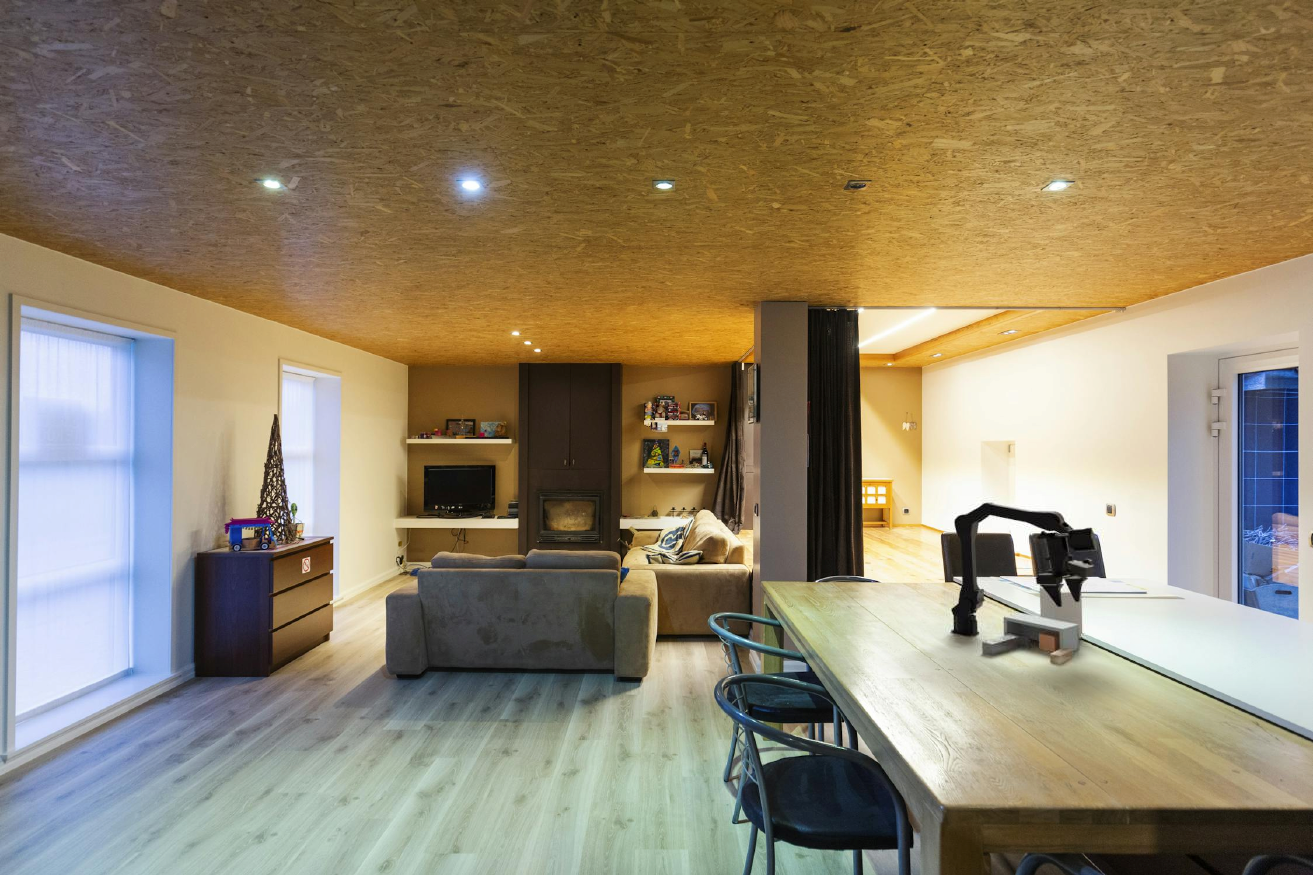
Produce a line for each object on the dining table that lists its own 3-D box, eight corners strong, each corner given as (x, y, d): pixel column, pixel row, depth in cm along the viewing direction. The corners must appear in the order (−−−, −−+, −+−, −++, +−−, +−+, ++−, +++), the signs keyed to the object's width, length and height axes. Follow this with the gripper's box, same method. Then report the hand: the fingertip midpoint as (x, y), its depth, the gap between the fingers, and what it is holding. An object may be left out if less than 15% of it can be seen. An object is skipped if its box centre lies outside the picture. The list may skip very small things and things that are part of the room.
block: (1039, 648, 202) (1038, 633, 202) (1046, 646, 205) (1046, 631, 205) (1054, 652, 198) (1054, 637, 199) (1062, 649, 201) (1061, 634, 201)
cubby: (1003, 640, 211) (1003, 616, 211) (1020, 635, 216) (1019, 612, 216) (1063, 654, 196) (1062, 628, 196) (1079, 649, 201) (1078, 624, 201)
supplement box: (1083, 638, 212) (1082, 592, 213) (1055, 638, 212) (1054, 592, 213) (1066, 631, 221) (1065, 586, 222) (1039, 631, 221) (1039, 586, 222)
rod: (1050, 662, 189) (1050, 653, 189) (1063, 655, 196) (1062, 647, 196) (1060, 664, 187) (1059, 656, 187) (1072, 657, 194) (1072, 649, 194)
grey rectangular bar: (998, 657, 193) (998, 645, 193) (976, 651, 199) (975, 640, 199) (1030, 648, 203) (1030, 636, 203) (1007, 642, 209) (1007, 631, 209)
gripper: (1066, 556, 190) (1078, 610, 188) (1102, 548, 199) (1113, 600, 197) (1030, 556, 200) (1040, 608, 198) (1065, 549, 209) (1076, 599, 207)
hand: (1068, 604), depth 200 cm, fingers open, 9 cm apart
